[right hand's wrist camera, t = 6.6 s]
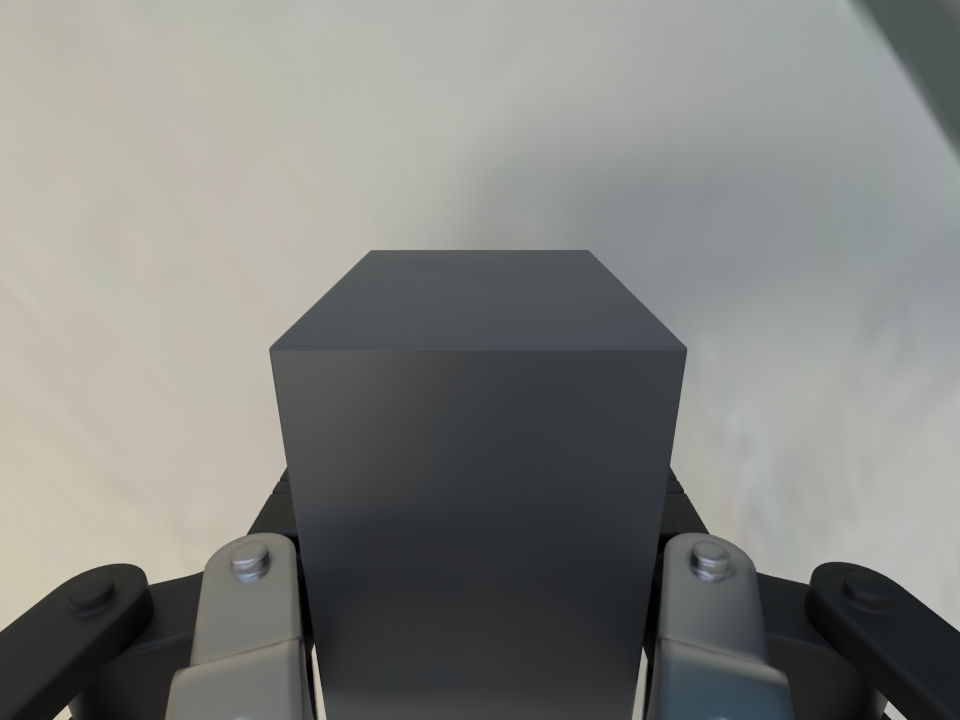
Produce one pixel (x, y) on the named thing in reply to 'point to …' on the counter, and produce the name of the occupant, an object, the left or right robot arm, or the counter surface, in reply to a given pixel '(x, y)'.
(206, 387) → the counter surface
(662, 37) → the counter surface
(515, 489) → the post
